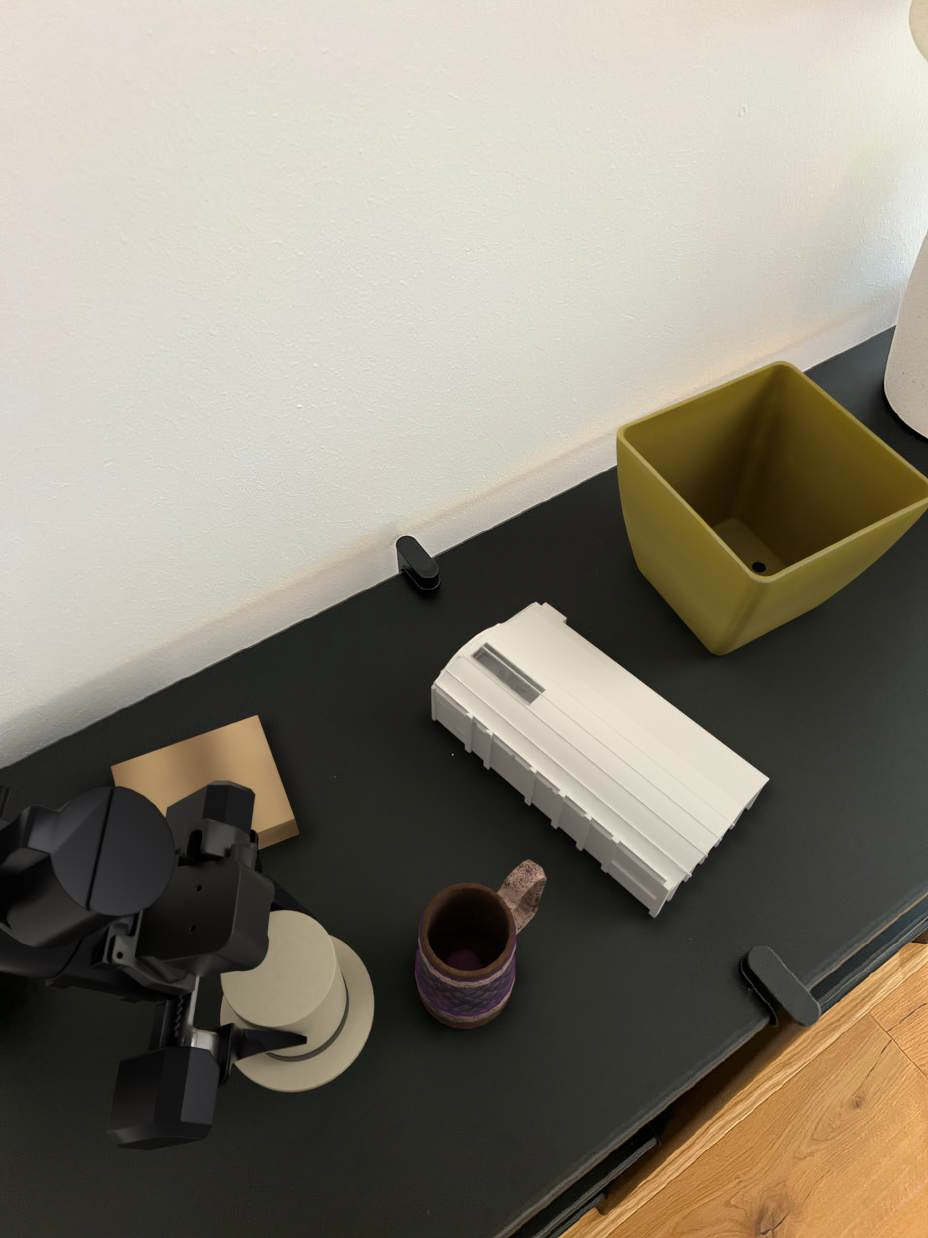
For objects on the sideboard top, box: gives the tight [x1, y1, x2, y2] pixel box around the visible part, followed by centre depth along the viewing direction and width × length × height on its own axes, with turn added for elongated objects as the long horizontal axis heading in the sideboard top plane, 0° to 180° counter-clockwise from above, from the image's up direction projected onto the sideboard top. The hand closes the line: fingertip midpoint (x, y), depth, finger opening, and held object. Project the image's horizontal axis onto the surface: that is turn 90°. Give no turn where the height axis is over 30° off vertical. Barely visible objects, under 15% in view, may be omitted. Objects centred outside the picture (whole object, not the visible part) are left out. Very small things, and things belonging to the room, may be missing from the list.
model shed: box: [430, 601, 770, 919], centre depth 77 cm, size 25×15×7 cm, turn 46°
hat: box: [219, 910, 375, 1093], centre depth 59 cm, size 10×10×10 cm
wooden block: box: [110, 714, 300, 850], centre depth 75 cm, size 12×10×3 cm
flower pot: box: [615, 360, 928, 656], centre depth 84 cm, size 19×19×17 cm
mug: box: [414, 858, 548, 1030], centre depth 65 cm, size 10×7×12 cm
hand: (308, 981), depth 57 cm, fingers closed on hat, 6 cm apart
